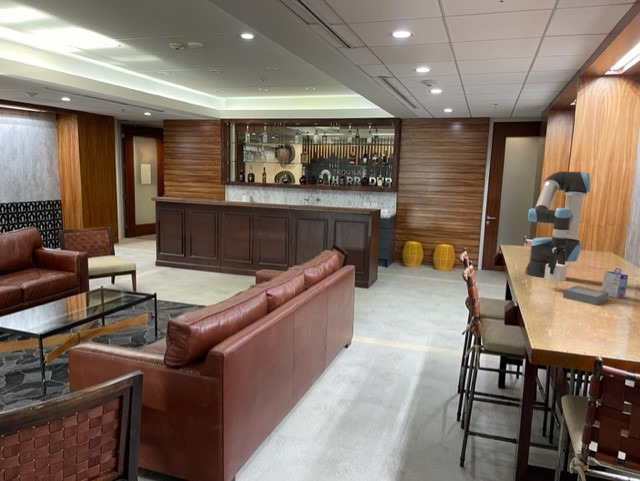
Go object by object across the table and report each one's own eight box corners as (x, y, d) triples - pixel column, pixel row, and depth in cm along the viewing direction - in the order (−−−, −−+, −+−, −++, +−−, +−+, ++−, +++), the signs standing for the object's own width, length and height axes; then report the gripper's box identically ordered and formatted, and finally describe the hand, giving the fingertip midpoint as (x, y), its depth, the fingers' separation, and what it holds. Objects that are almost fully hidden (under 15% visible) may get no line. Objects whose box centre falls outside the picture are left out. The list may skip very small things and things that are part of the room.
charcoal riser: (575, 293, 239) (576, 285, 239) (607, 299, 228) (608, 292, 228) (562, 297, 229) (563, 289, 229) (595, 304, 218) (596, 296, 217)
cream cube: (550, 276, 251) (552, 262, 250) (565, 279, 245) (567, 265, 244) (544, 278, 246) (545, 264, 245) (559, 281, 240) (561, 267, 239)
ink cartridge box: (625, 298, 233) (629, 270, 231) (617, 298, 232) (621, 270, 229) (608, 293, 242) (612, 266, 240) (600, 293, 241) (604, 266, 239)
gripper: (559, 239, 232) (553, 282, 236) (575, 236, 246) (570, 277, 249) (544, 237, 238) (539, 279, 242) (561, 234, 251) (556, 274, 255)
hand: (555, 278), depth 245 cm, fingers closed on cream cube, 8 cm apart
